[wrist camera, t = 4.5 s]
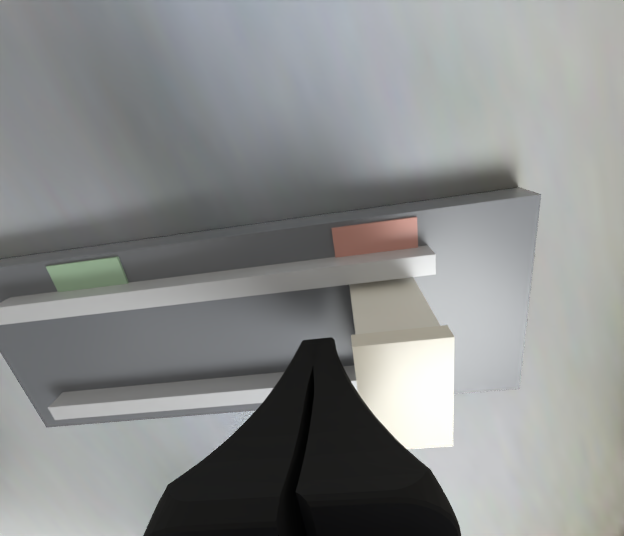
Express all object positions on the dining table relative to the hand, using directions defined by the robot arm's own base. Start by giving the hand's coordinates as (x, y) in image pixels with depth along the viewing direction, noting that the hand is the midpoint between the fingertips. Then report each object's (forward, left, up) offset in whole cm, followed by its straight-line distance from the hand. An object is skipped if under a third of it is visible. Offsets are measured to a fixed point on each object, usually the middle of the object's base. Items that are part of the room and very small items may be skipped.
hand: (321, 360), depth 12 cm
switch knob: (0, -3, -2) cm, 3 cm away
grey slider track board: (0, +3, -4) cm, 5 cm away
